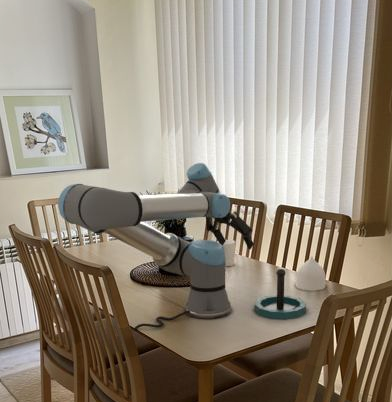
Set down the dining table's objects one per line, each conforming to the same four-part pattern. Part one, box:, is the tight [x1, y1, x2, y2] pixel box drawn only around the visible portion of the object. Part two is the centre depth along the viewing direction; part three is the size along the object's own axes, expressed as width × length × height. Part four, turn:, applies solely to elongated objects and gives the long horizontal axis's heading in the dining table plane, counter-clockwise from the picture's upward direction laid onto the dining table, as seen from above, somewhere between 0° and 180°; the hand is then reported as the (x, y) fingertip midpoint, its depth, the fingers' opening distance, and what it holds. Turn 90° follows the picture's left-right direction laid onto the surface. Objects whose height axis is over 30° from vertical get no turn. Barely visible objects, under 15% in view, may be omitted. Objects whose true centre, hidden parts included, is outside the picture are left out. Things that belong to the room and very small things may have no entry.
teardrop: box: [295, 255, 326, 292], centre depth 205 cm, size 11×11×12 cm
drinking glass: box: [216, 239, 236, 267], centre depth 236 cm, size 8×8×10 cm
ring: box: [254, 294, 307, 320], centre depth 183 cm, size 17×17×2 cm
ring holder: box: [263, 267, 297, 310], centre depth 181 cm, size 8×8×14 cm
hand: (237, 245), depth 207 cm, fingers open, 13 cm apart
